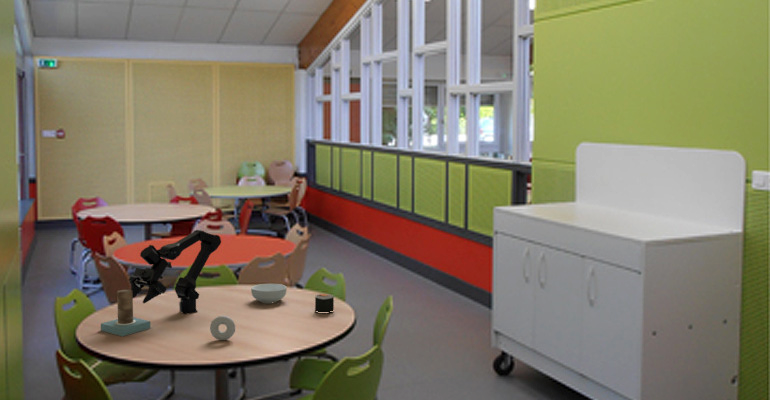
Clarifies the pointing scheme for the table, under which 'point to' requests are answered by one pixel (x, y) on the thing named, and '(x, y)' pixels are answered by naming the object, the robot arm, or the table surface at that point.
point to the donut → (226, 321)
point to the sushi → (324, 302)
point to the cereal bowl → (268, 292)
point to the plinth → (125, 327)
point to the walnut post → (125, 306)
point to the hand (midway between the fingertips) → (136, 301)
